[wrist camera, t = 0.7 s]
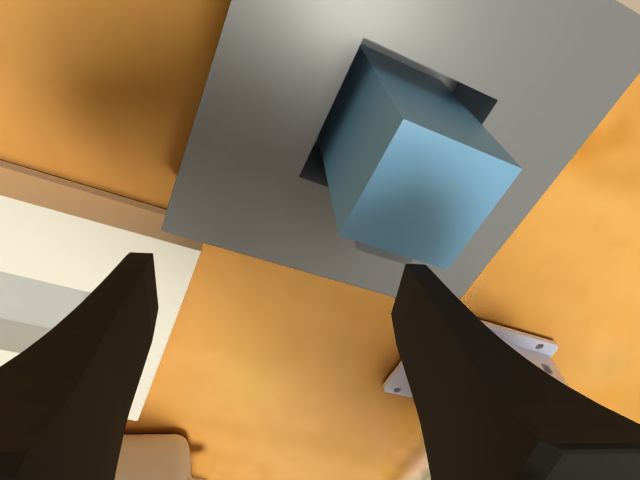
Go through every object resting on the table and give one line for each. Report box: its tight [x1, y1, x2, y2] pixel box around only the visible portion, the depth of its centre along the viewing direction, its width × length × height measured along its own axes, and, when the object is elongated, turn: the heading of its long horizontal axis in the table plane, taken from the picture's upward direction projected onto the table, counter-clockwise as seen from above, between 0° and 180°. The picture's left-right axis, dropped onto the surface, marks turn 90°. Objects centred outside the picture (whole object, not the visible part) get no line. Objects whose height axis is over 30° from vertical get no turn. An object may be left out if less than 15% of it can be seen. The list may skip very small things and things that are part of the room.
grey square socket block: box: [161, 0, 640, 300], centre depth 20 cm, size 14×14×4 cm
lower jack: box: [0, 160, 203, 421], centre depth 25 cm, size 14×14×2 cm
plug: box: [318, 44, 522, 270], centre depth 18 cm, size 4×5×8 cm
